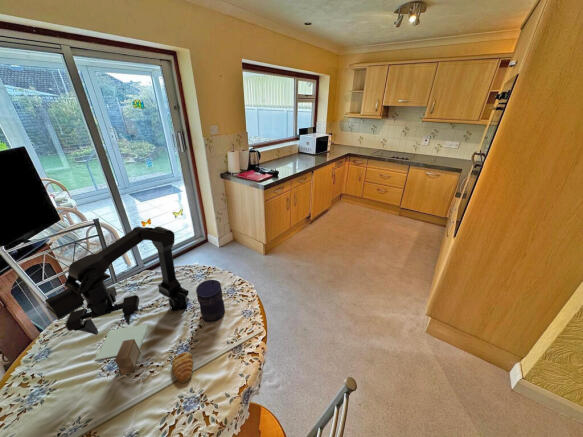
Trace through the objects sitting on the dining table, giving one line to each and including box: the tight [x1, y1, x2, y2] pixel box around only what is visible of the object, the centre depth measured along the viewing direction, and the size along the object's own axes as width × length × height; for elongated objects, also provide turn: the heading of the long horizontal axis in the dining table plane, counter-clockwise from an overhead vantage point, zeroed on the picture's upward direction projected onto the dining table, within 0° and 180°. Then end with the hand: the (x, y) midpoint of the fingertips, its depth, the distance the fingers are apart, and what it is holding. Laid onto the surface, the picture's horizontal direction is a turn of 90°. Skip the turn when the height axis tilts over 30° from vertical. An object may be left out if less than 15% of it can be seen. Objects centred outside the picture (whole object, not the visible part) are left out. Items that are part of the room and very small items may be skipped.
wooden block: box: [114, 339, 141, 375], centre depth 80 cm, size 4×7×8 cm, turn 14°
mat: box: [94, 323, 149, 361], centre depth 89 cm, size 14×12×1 cm
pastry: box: [171, 351, 194, 384], centre depth 80 cm, size 9×7×4 cm
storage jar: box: [195, 279, 226, 324], centre depth 98 cm, size 10×10×15 cm
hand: (113, 328), depth 80 cm, fingers open, 9 cm apart
